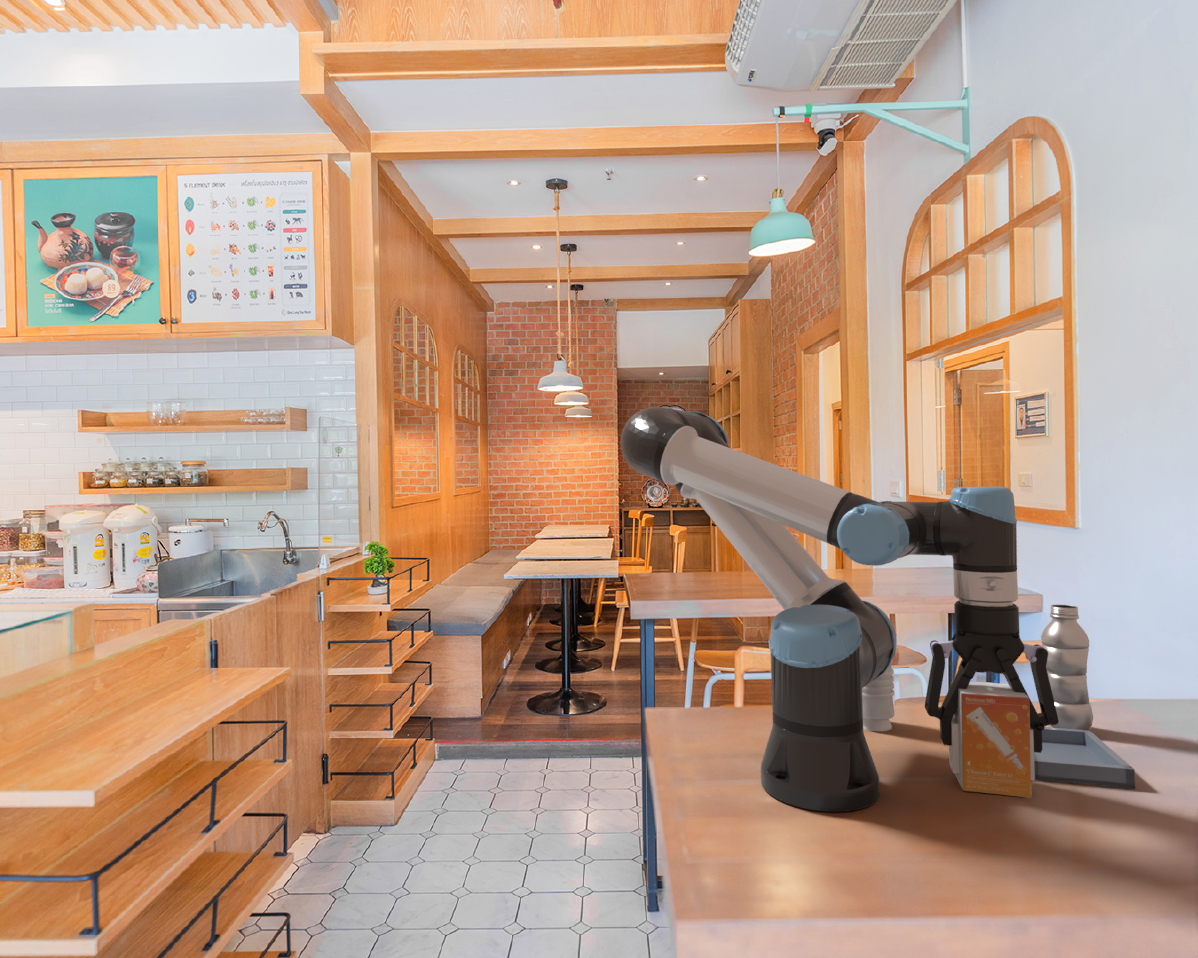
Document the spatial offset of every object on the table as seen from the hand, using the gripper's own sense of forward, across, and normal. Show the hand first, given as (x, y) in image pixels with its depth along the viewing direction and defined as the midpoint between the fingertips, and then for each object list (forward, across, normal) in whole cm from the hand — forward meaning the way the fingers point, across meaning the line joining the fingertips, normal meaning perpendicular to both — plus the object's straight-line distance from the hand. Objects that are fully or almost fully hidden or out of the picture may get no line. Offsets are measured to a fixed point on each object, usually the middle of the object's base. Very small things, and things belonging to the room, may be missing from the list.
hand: (990, 772), depth 91 cm
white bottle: (+2, -13, +21) cm, 25 cm away
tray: (+2, +12, +11) cm, 16 cm away
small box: (+2, 0, 0) cm, 2 cm away
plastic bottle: (+2, +17, +26) cm, 31 cm away
